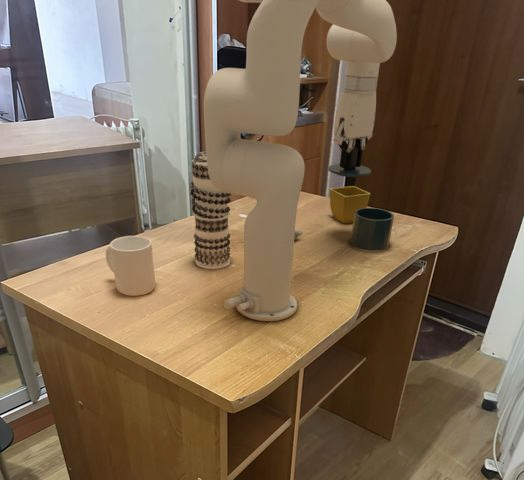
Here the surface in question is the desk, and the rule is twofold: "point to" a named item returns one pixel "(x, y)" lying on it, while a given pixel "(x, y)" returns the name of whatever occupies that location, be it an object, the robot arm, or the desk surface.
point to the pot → (371, 229)
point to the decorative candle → (209, 218)
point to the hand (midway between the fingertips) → (350, 166)
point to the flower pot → (347, 202)
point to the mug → (132, 264)
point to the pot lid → (353, 170)
